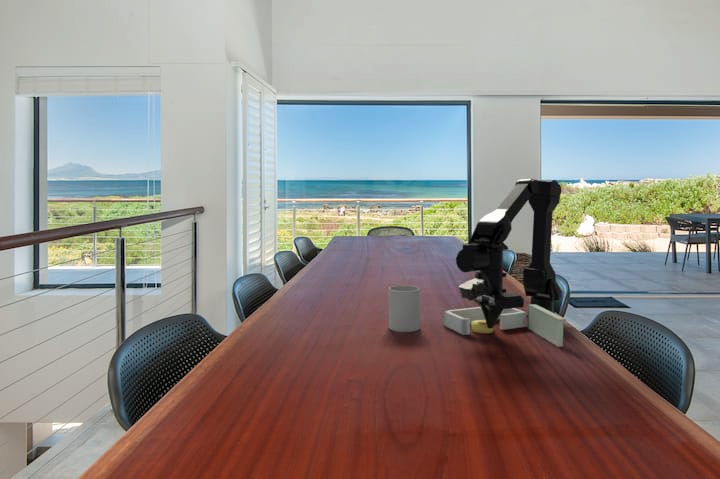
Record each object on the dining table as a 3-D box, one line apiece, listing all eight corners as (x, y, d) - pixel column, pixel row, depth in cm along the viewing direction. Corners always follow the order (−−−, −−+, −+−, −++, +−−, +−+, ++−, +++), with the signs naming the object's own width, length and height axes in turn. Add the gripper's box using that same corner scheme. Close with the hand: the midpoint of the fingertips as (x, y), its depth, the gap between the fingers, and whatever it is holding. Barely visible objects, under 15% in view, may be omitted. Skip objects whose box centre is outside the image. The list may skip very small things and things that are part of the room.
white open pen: (504, 317, 135) (504, 295, 135) (532, 328, 124) (532, 304, 124) (443, 325, 128) (443, 302, 127) (467, 336, 117) (467, 311, 116)
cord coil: (484, 326, 126) (484, 319, 126) (497, 332, 121) (497, 324, 121) (467, 328, 124) (467, 321, 124) (479, 334, 119) (479, 326, 119)
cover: (528, 328, 124) (529, 304, 123) (535, 328, 124) (535, 304, 123) (557, 346, 109) (558, 319, 108) (565, 346, 109) (565, 319, 108)
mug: (415, 333, 120) (415, 292, 119) (384, 330, 123) (384, 290, 122) (426, 322, 131) (426, 284, 130) (397, 319, 134) (397, 282, 133)
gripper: (444, 265, 124) (444, 322, 125) (487, 276, 106) (486, 342, 108) (479, 263, 128) (478, 318, 129) (526, 272, 110) (524, 336, 112)
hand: (490, 328), depth 119 cm, fingers closed
